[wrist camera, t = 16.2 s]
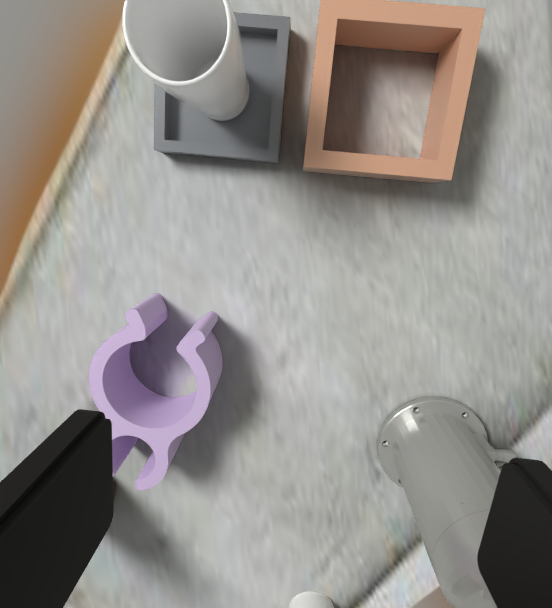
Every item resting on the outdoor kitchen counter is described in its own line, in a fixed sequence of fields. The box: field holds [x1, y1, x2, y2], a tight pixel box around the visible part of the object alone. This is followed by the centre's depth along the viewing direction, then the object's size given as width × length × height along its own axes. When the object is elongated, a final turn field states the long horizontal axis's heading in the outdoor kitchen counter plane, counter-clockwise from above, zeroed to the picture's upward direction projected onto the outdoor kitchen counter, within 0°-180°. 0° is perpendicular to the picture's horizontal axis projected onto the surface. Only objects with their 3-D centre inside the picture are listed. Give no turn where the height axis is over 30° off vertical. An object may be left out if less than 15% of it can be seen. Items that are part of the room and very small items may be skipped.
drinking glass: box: [122, 0, 250, 121], centre depth 30 cm, size 7×7×15 cm
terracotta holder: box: [303, 0, 485, 183], centre depth 36 cm, size 13×13×6 cm
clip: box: [89, 293, 223, 491], centre depth 44 cm, size 20×12×7 cm, turn 162°
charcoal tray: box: [154, 12, 291, 164], centre depth 37 cm, size 12×12×2 cm
